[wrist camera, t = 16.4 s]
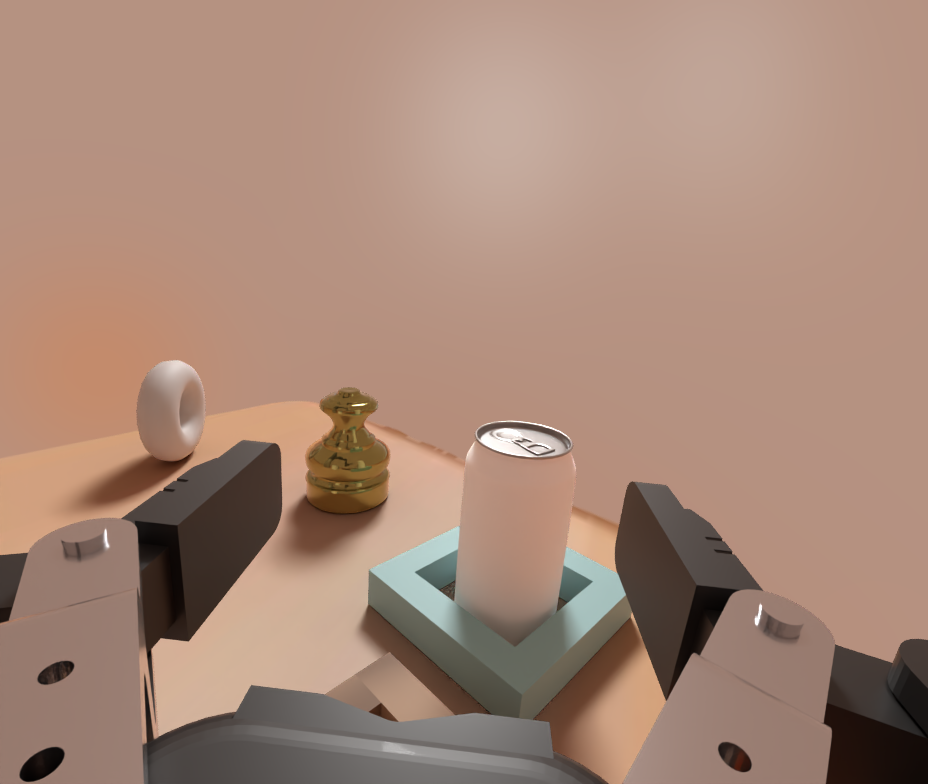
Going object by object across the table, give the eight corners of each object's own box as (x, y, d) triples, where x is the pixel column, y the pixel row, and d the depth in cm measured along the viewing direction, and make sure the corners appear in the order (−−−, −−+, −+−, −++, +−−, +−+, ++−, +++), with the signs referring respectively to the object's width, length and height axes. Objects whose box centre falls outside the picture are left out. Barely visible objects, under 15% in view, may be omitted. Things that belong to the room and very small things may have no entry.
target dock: (368, 603, 31) (368, 569, 30) (491, 536, 39) (494, 508, 39) (516, 736, 23) (522, 694, 22) (630, 616, 31) (637, 583, 31)
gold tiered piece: (381, 474, 49) (384, 378, 46) (396, 510, 42) (400, 401, 39) (304, 480, 46) (302, 379, 44) (307, 520, 40) (305, 404, 37)
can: (504, 568, 35) (521, 412, 32) (575, 621, 31) (604, 445, 27) (432, 603, 31) (444, 429, 28) (502, 671, 27) (526, 470, 23)
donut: (180, 438, 54) (171, 350, 51) (213, 439, 54) (207, 351, 51) (135, 479, 44) (122, 373, 41) (176, 479, 45) (166, 374, 42)
